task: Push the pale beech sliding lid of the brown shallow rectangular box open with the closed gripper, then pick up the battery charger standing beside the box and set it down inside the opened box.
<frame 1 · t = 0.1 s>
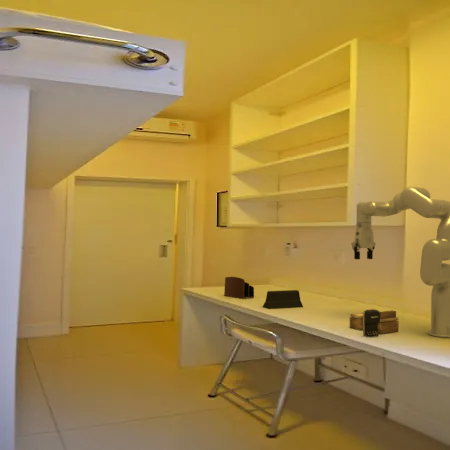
hand: (363, 259, 255), 31 cm above the table, tool pointing down, fingers open, 9 cm apart
letter holder: (238, 297, 336), on the table
brown shallow rectangular box: (373, 329, 226), on the table
barrier: (282, 307, 293), on the table
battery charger: (371, 336, 212), on the table
lid: (373, 313, 226), point 7 cm above the table, slide at 0.0 cm
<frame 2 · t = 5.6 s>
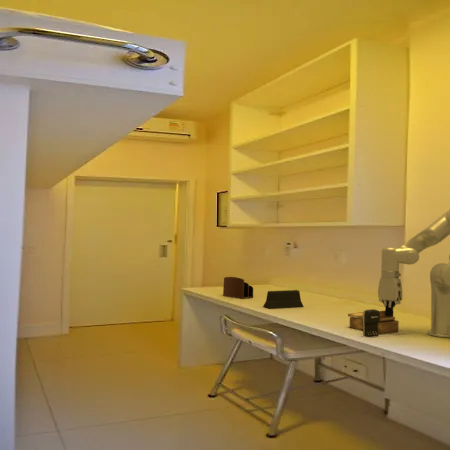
hand: (389, 316, 219), 8 cm above the table, tool pointing down, fingers closed
lid: (371, 313, 228), point 7 cm above the table, slide at 1.5 cm, touching gripper
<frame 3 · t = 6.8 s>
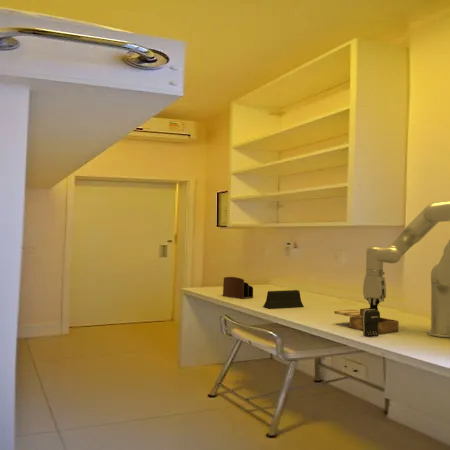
hand: (373, 313, 226), 8 cm above the table, tool pointing down, fingers closed
lid: (356, 310, 235), point 7 cm above the table, slide at 10.2 cm, touching gripper
everything else where it was.
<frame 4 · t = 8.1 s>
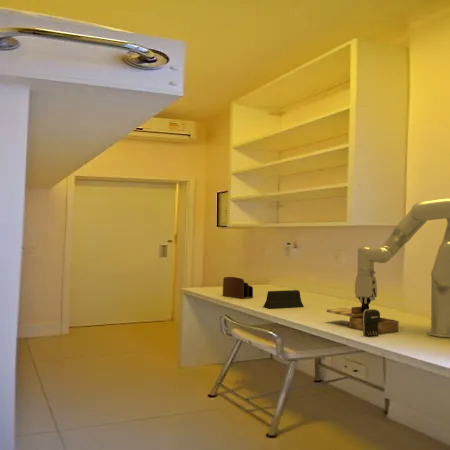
hand: (365, 311, 231), 8 cm above the table, tool pointing down, fingers closed
lid: (348, 309, 239), point 7 cm above the table, slide at 15.3 cm
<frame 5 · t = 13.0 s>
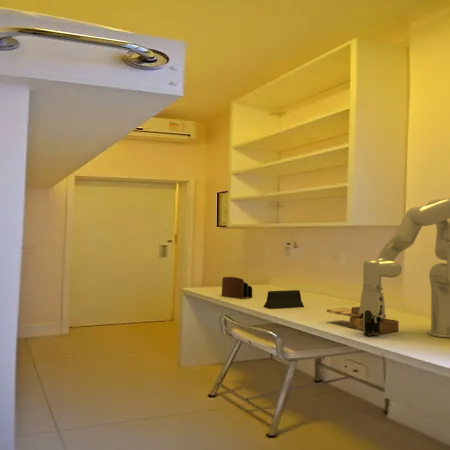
hand: (371, 330, 212), 2 cm above the table, tool pointing down, fingers closed on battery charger, 4 cm apart
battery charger: (371, 336, 212), on the table, touching gripper
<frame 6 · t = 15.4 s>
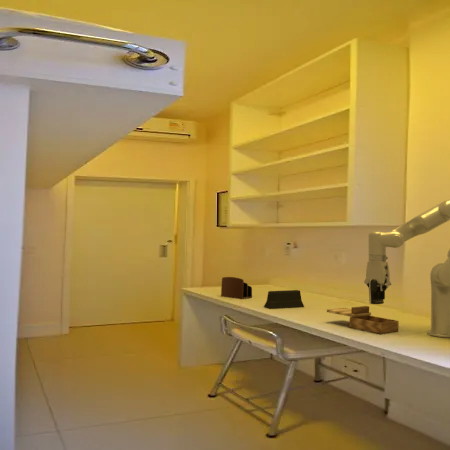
hand: (377, 298, 223), 15 cm above the table, tool pointing down, fingers closed on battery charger, 4 cm apart
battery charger: (377, 304, 223), point 12 cm above the table, touching gripper
when the fingers open (5 cm above the table, at t = 17.9 s): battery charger drops 1 cm, resting on brown shallow rectangular box.
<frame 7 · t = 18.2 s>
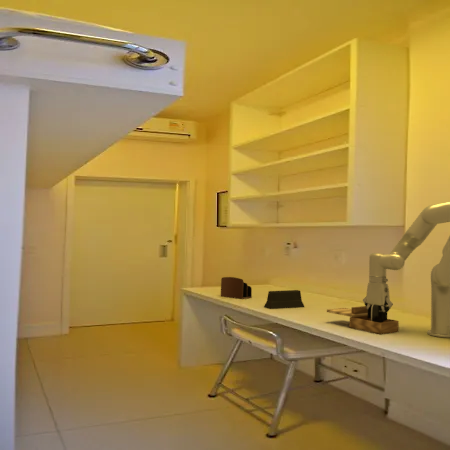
hand: (377, 318, 225), 5 cm above the table, tool pointing down, fingers open, 7 cm apart
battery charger: (378, 329, 224), point 1 cm above the table, touching brown shallow rectangular box
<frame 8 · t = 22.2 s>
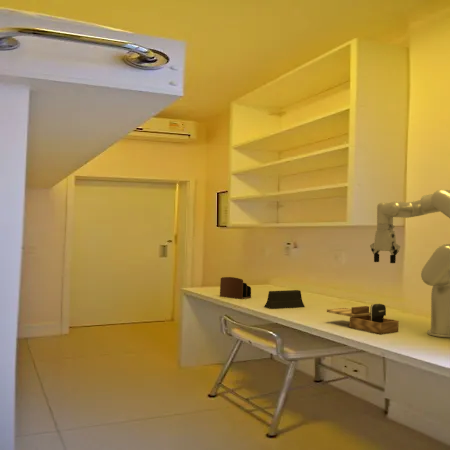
hand: (384, 262, 242), 30 cm above the table, tool pointing down, fingers open, 9 cm apart
at the end: lid slide at 15.3 cm; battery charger inside the target area on the brown shallow rectangular box (2.7 cm from its centre), point 0.6 cm above the brown shallow rectangular box's base; the gripper is holding nothing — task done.
